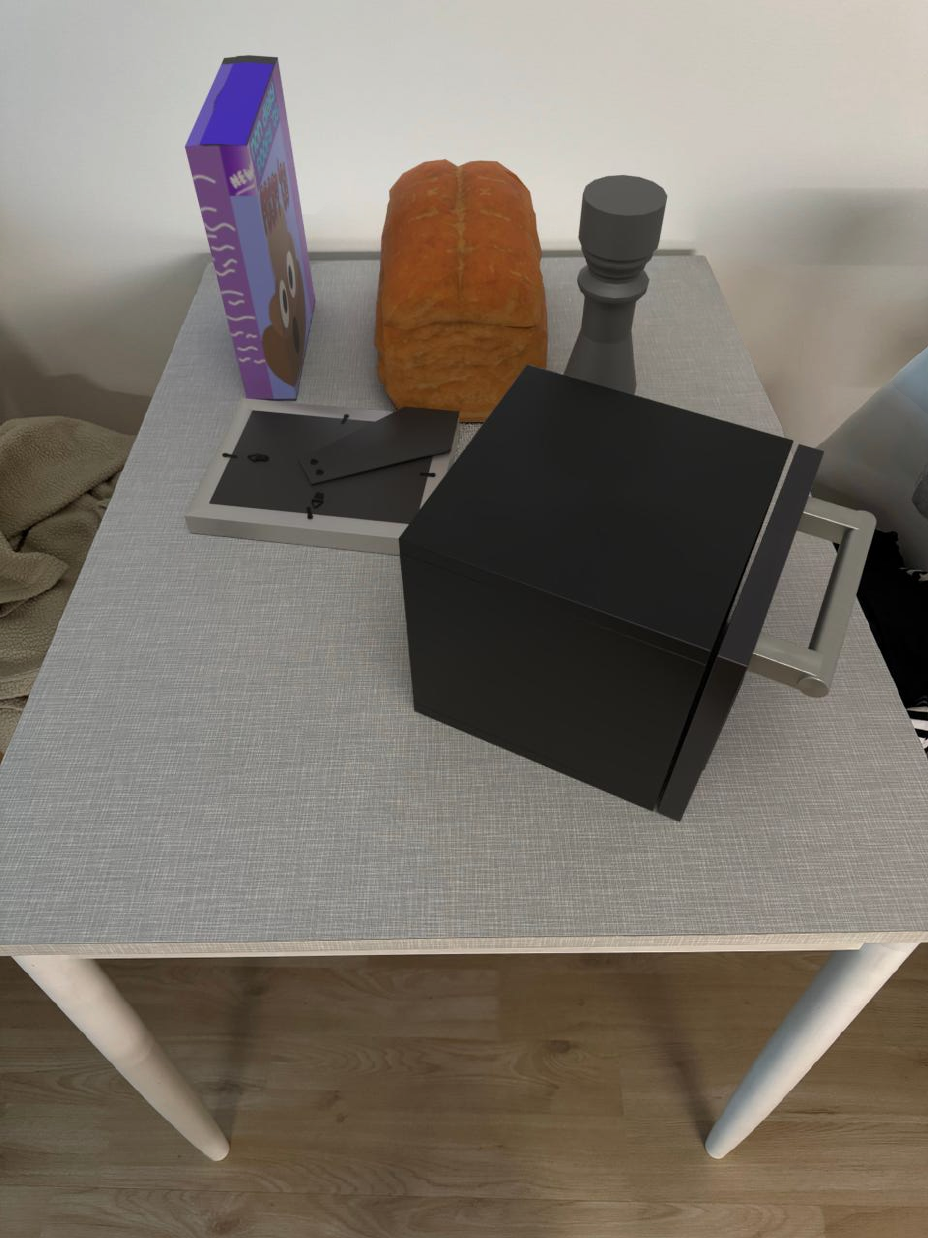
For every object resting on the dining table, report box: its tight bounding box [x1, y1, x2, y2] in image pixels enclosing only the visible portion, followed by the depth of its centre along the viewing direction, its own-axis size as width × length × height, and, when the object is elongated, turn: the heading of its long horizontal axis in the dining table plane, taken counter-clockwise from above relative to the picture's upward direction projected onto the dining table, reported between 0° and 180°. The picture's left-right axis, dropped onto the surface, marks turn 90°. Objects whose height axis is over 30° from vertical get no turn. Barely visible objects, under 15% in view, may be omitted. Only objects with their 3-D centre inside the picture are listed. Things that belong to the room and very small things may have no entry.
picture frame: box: [183, 397, 461, 556], centre depth 77 cm, size 16×3×21 cm
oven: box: [399, 364, 794, 812], centre depth 58 cm, size 18×18×18 cm
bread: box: [373, 158, 549, 423], centre depth 85 cm, size 16×27×16 cm, turn 1°
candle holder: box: [562, 174, 668, 395], centre depth 69 cm, size 6×6×25 cm
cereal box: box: [184, 54, 316, 402], centre depth 81 cm, size 17×5×24 cm, turn 0°
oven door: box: [656, 443, 877, 822], centre depth 55 cm, size 6×18×18 cm, turn 154°
